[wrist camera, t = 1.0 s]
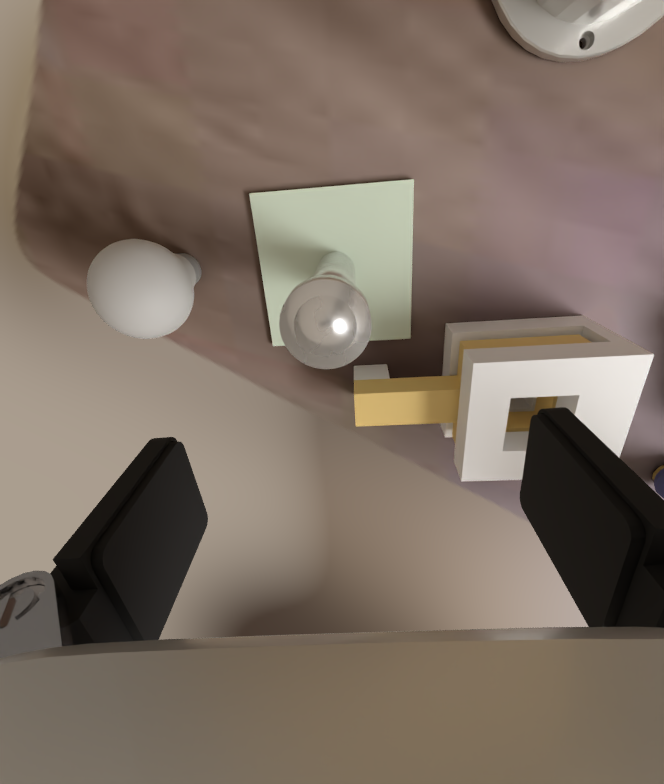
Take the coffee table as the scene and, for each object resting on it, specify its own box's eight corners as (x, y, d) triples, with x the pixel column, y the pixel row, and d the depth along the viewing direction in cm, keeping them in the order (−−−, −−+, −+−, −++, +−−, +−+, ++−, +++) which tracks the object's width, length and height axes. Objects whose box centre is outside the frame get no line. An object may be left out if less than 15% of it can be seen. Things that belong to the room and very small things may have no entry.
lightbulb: (168, 211, 30) (79, 221, 20) (239, 256, 31) (187, 287, 21) (142, 278, 32) (50, 317, 22) (208, 318, 33) (149, 370, 24)
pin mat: (250, 193, 29) (249, 193, 28) (412, 179, 28) (413, 179, 27) (274, 344, 34) (272, 346, 34) (409, 336, 33) (410, 338, 33)
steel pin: (305, 244, 30) (272, 283, 17) (362, 239, 29) (370, 276, 17) (311, 300, 32) (285, 371, 19) (364, 297, 31) (372, 366, 19)
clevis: (351, 328, 33) (351, 369, 26) (583, 315, 32) (654, 354, 24) (356, 425, 38) (358, 484, 30) (559, 418, 36) (612, 477, 29)
